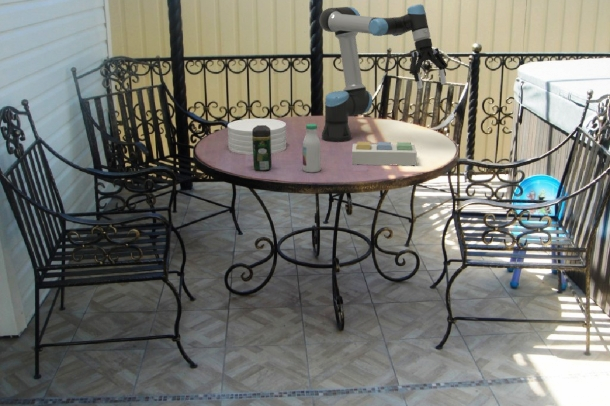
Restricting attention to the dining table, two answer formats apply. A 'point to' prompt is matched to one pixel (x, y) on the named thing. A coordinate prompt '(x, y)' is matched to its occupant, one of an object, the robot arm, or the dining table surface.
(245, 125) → the plate stack
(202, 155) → the dining table surface
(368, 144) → the key ochre
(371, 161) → the key panel
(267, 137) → the coffee jar
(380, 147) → the key blue
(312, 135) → the milk bottle
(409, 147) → the key sage
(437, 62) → the robot arm
